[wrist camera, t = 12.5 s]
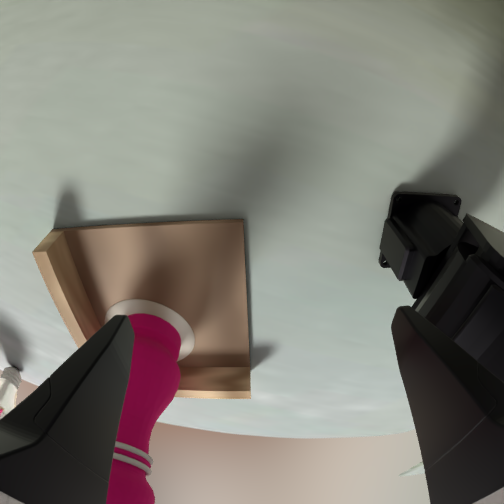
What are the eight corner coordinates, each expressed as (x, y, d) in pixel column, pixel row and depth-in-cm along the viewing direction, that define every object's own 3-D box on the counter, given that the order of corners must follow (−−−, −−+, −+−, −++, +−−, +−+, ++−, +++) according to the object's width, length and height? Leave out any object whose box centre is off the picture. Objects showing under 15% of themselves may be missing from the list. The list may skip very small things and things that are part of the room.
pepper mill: (108, 341, 29) (55, 524, 12) (123, 296, 26) (50, 525, 9) (172, 367, 31) (145, 551, 14) (198, 328, 28) (172, 557, 11)
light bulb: (39, 376, 35) (13, 442, 25) (28, 386, 38) (5, 445, 28) (2, 348, 33) (-30, 413, 22) (-5, 361, 35) (-33, 419, 25)
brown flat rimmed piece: (243, 219, 22) (242, 245, 19) (250, 371, 32) (250, 398, 29) (52, 229, 22) (32, 252, 20) (112, 365, 32) (104, 389, 29)
